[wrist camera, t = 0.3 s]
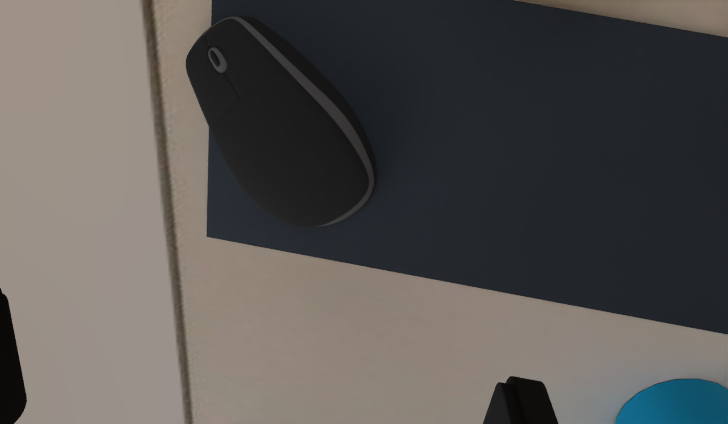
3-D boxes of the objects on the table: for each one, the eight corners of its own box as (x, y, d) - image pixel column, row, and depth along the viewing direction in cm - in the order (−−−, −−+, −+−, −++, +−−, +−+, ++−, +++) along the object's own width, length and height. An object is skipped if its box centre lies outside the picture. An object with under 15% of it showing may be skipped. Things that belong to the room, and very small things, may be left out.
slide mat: (214, -51, 23) (212, -52, 23) (958, 77, 23) (963, 78, 22) (207, 235, 30) (206, 236, 30) (782, 343, 29) (785, 345, 29)
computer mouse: (261, -15, 24) (233, -18, 20) (405, 175, 27) (403, 202, 23) (167, 72, 26) (127, 84, 22) (311, 238, 29) (296, 272, 26)
